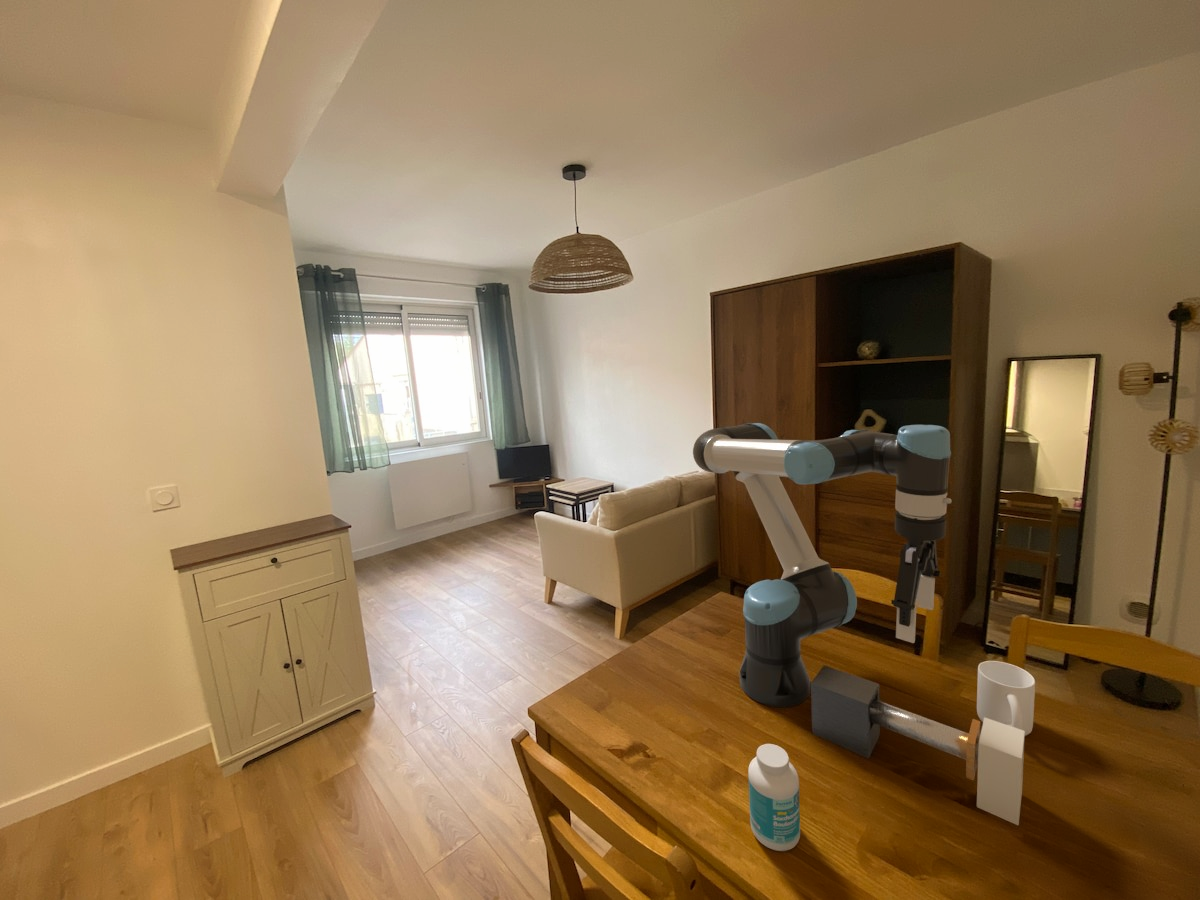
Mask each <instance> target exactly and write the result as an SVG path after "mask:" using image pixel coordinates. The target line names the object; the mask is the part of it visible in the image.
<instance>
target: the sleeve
mask: <svg viewBox="0 0 1200 900" xmlns="http://www.w3.org/2000/svg"><path fill="white" fill-rule="evenodd" d="M810 694H811V695H810V698H811V729H812V731H811V732H812V735H815V736H817V737H819V738H821V739H824V740H825V741H828V742H830V743H833V744H834V745H837V746H839V747H842V748H844V749H846V750H848V751H851V752H853V753H855V754H857V755H860V756H861V757H864V758H866V759H870V757H871V754H872V752H873V750H874V748H875V746H876V745H877V742H878V740H879V738H880V725H877V724H875V723H872V722H870V705H871V703H872V701H873V700H874V699H875V700H878V701H880V683H877V682H874V681H872V680H870V679H865V678H863V677H860V676H857V675H853V674H851V673H848V672H845V671H842V670H840V669H836V668H834V667H830V666H828V665H823V666H821V668H820V670H819V671H818V673H816V675H815V677H814V678H813V679H812V681H810Z"/></svg>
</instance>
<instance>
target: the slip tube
mask: <svg viewBox="0 0 1200 900" xmlns="http://www.w3.org/2000/svg"><path fill="white" fill-rule="evenodd" d="M870 722H872V723H875V724H877V725H879V727H883V728H885V729H887V730H890V731H892V732H895V733H898V734H900V735H903V736H905V737H908V738H910V739H913V740H915V741H918V742H920V743H922V744H924V745H928V746H930V747H933V748H936V749H937V750H940V751H943V752H946V753H948V754H951V755H953V756H956V757H958V758H961V759H963V760H965V762H966V763H965V766H966V767H965V771H966V772H965V778H967V779H969V780H972V781H975V776H976V772H977V769H978V749H979V739H980V735H981V720H977V719H975V718H972V721H971V724H970V727H969V732H966V731H963V730H960V729H958V728H954V727H951V726H949V725H946V724H943V723H940V722H938V721H935V720H932V719H929V718H928V717H924V716H922V715H919V714H917V713H913V712H910V711H908V710H905V709H902V708H901V707H897V706H894V705H891V704H888V703H886V702H883V701H881V700H879V701H878V700H875V699H874V700H873V701H872V703H871V705H870Z"/></svg>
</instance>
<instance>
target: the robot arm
mask: <svg viewBox="0 0 1200 900" xmlns="http://www.w3.org/2000/svg"><path fill="white" fill-rule="evenodd" d="M692 457H693V459H694V461H695V463H696V465H697V466H698V467H699V468H700V469H701V470H703V471H705V472H706V473H707V472H708V473H715V474H726V473H727V472H730V471H732V473H733V475H734V478H735V480H736V481H738V482H741V483H743V484H744V485H745V488H746V491H747V492H748V495H749V497H750V499H751V502H752V503H753V506H754V507H755V510H756V513H757V514H758V517H759V519H760V521H761V523H762V525H763V527H764V530H765V532H766V534H767V536H768V539H769V541H770V542H771V545H772V547H773V550H774V552H775V553H776V556H777V558H778V561H779V563H780V565H781V567H782V569H783V573H782V575H781V577H780V578H779V579H777V578H776V579H775V578H774V579H773V580H771V579H770V578H769V579H764V580H760V581H757V582H755V583H753V584H752V585H750V586H749V587H748V588H747V589H746V590H745V593H744V595H743V596H744V597H743V607H742V614H743V616H744V618H743V619H744V633H745V634H744V637H745V653H744V656H743V658H742V662H741V665H740V668H739V686H740V687H741V689H742V691H743V692H744V693H745V694H746V695H747V696H748V697H749V698H751V699H752V700H754V701H756V702H758V703H760V704H763V705H766V706H770V707H775V708H788V707H794V706H797V705H800V704H802V703H804V702H806V700H807V699H808V698H809V696H810V694H811V681H810V679H811V678H810V676H809V674H808V671H807V668H806V667H805V664H804V661H803V658H802V656H801V655H802V654H801V640H802V639H805V638H807V637H811V636H813V635H817V634H819V633H820V634H821V633H822V632H825V631H828V630H831V629H836V628H839V627H840V626H842V625H843V624H844V625H845V624H846V623H848V622H850V621H851V620H852V619H853V618H854V616H855V615H856V610H857V608H858V600H857V593H856V590H855V587H854V585H852V582H851V581H850V579H848V578H847V577H846V576H844V574H842V573H841V572H839V571H835V570H833V569H832V567H831V565H830V563H829V562H828V561H825V560H824V559H821V558H820V557H819V556H818V554H817V552H816V550H815V547H814V545H813V543H812V542H811V539H810V537H809V535H808V533H807V531H806V529H805V527H804V525H803V523H802V521H801V519H800V517H799V515H798V513H797V511H796V509H795V507H794V504H793V503H792V501H791V499H790V497H789V494H788V492H787V490H786V489H785V487H784V484H783V482H782V480H781V479H780V477H782V478H789V479H790V480H792V481H793V482H794V483H795V484H797V485H800V486H802V485H803V486H804V485H816V484H817V485H818V484H820V483H824V482H828V481H832V480H833V481H834V480H836V479H841V478H846V477H850V476H856V475H861V474H865V473H866V474H867V473H870V472H871V473H878V474H884V475H886V476H887V475H889V476H891V477H892V476H895V481H896V482H895V485H896V486H895V499H894V501H895V503H894V508H895V510H896V512H895V514H894V531H895V532H896V534H898V535H899V536H901V537H904V538H905V539H906V540H907V541H906V542H907V543H905V544H904V545H903V546H902V547H903V548H901V549H900V555H899V557H900V559H899V566H898V567H899V568H898V573H897V579H896V586H895V593H894V598H893V599H891V601H890V602H891V603H890V604H891V605H893V607H895V608H896V624H895V625H896V627H895V638H896V639H899V640H902V641H905V642H908V643H911V644H914V643H915V642H916V628H917V627H916V625H917V607H918V608H921V609H925V610H927V611H928V610H929V611H933V610H934V601H935V599H934V598H935V582H936V578H940V576H941V571H940V570H938V568H939V562H938V554H937V553H938V552H937V541H940V540H942V539H944V538H945V537H946V532H947V517H946V516H945V515H946V514H947V507H948V505H949V504H952V499H951V498H949V497H947V496H948V490H949V489H948V488H949V485H948V484H949V471H950V460H951V457H952V450H951V433H950V431H949V430H948V429H947V428H946V427H944V426H941V425H936V424H935V425H934V424H910V425H903V426H901V427H900V428H899V429H898V431H897V434H893V433H886V432H879V431H878V432H877V431H871V430H868V429H860V430H859V429H858V430H857V429H850V430H846V431H845V432H843V433H842V434H841V435H840V436H838V437H834V438H826V439H816V440H813V439H812V440H811V439H810V440H809V439H805V440H803V439H778V436H777V434H776V433H775V431H774V430H773V429H772V428H770V427H769V426H767V425H766V424H764V423H760V422H757V423H756V422H755V423H752V422H747V423H742V424H739V425H732V426H725V427H717V428H711V429H709V430H706V431H705V432H703V433H701V434H700V435H699V436H698V437H697V439H696V440H695V442H694V445H693V448H692Z"/></svg>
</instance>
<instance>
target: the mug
mask: <svg viewBox="0 0 1200 900" xmlns="http://www.w3.org/2000/svg"><path fill="white" fill-rule="evenodd" d="M976 693H977V694H976V712H977V713H976V714H977V716H978V718H979V720H980V722H982V723H983V721H984V717H985V718H988V719H991V720H994V721H997V722H1000V723H1003V724H1006V725H1009V726H1012V727H1015V728H1017V729H1020V730H1023V731H1025V736H1028V735H1029V734H1031V733H1032V731H1033V728H1034V715H1035V714H1034V712H1035V711H1034V710H1035V695H1036V679H1035V678H1034V676H1033V675H1032V674H1031V673H1030V672H1029V671H1027V670H1025V669H1023V668H1022V667H1019V666H1017V665H1014V664H1011V663H1008V662H1005V661H1004V662H1003V661H997V660H987V661H983V662H982V661H981V662H980V663H978V666H977V692H976Z"/></svg>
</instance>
